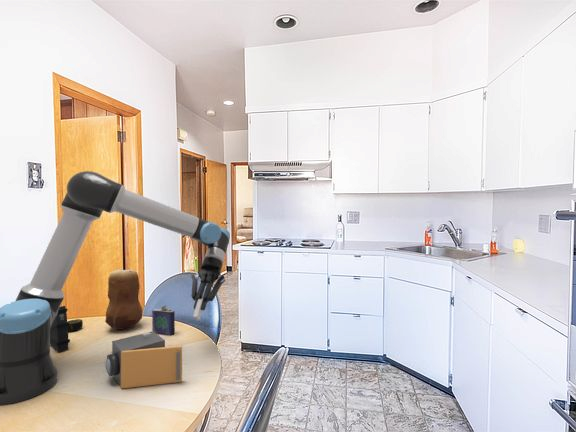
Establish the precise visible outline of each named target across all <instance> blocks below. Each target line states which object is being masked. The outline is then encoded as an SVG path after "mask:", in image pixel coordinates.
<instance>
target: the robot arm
mask: <svg viewBox="0 0 576 432" xmlns="http://www.w3.org/2000/svg"><path fill="white" fill-rule="evenodd" d="M60 208H61V210H62V211H63V213H62V215H61V217H60V219H59V221H58V224H57V225H56V228H55V229H54V232H53V234H52V235H51V238H50V240H49V242H48V244H47V247H46V249H45V251H44V253H43V255H42V258H41V259H40V262H39V264H38V267H37V268H36V271H35V272H34V274H33V276H32V278H31V281H30V282H29V283H28V284H26V285H23V286H22V287H21V288H20V290H19V292H18V295H17V297H16V299H15V300H14V301H12V302H10V303H6V304H4V305H2V306H1V307H0V405H9V404H15V403H20V402H22V401H27V400H29V399H32V398H34V397H37V396H39V395H42V394H43V393H45V392H47V391H48V390H50V389H51V388H53V386H55V385H56V383H57V382H58V369H57V367H56V365H55V362H54V360H53V358H52V357H51V356H52V355H51V345H50V328H51V326H52V323H53V321H54V320H55V318H56V316H57V314H58V310H59V308H60V307H61V305H62V303H63V301H64V299H65V296H66V295H65V293H64V292H63V291H64V290H63V288H64V286H65V283H66V281H67V280H68V278H69V277H68V276H69V275H70V272H71V270H72V268H73V266H74V264H75V261H76V259H77V257H78V254H79V252H80V250H81V248H82V247H83V243H84V242H85V239H86V237H87V235H88V233H89V230H90V228H91V225H92V224H93V222H95V221H97V220H99V219H100V218H101V216H102V214H103V212H106V213H108V214H109V213H110V214H111V213H119V214H122V215H125V216H128V217H131V218H134V219H136V220H139V221H142V222H145V223H148V224H149V225H150V224H151V225H154V226H157V227H159V228H162V229H164V230H168V231H171V232H174V233H176V234H180V235H183V236H185V237H189V238H190V239H193V240H195V241H197V242H199V243H200V244H202V245H204V246H206V248H207V249H206V252H205V255H204V257H203V260H202V264H201V267H200V270H199V271H198V273H197V274H192V275H191V279H192V283H191V285H192V286H191V295H190V296H191V298H192V300H193V301H194V304H193V310H194V312H193V315H192V317H193V318H194V320H195V321H200V320H201V316H202V313H203V311H206V308H207V304H208V302H213V301H214V299H215V298H216V296H217V294H218V292H219V291H220V288H221V286H222V284H223V283H225V281H226V277H225V275H222V274H221V271H222V268H223V264H224V260H225V256H226V253H227V250H228V247H229V244H230V239H231V234H230V231H229V230H228V229H226V228H222V227H220V226H219V224H217V223H215V222H213V221H207V220H205V219H202V218H199V217H197V216H195V215H192V214H190V213H187V212H185V211H182V210H179V209H176V208H174V207H173V206H172V207H171V206H169V205H166V204H164V203H162V202H158V201H156V200H155V199H154V200H153V199H151V198H149V197H146V196H143V195H141V194H138V193H136V192H133V191H130V190H128V189H126V188H125V186H124V184H121V183H119V182H116V181H114V180H112V179H110V178H108V177H105V176H104V175H102V174H100V173H98V172H96V171H92V170H91V171H89V170H86V171H84V170H83V171H80V172H77V173H76V174H74V175H73V176H72V177H71V178H69V180H68V182H67V184H66V193H65V196H64V197H63V200H62V202H61V205H60ZM199 279H200V283H199V282H198V281H199ZM198 283H199V286H198ZM214 283H215V284H214Z"/></svg>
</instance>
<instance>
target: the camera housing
mask: <svg viewBox="0 0 576 432" xmlns="http://www.w3.org/2000/svg"><path fill="white" fill-rule="evenodd" d="M111 343H112V344H111V353H110V354H107V355H106V359H105V362H104V365H105V366H104V367H105V371H106V374H107V375H108V377H110V378H111V377H113V378H114V379H115V381H116V382H117V383H118V384H119V386H120V387H121V352H122V351H127V350H139V349H150V348H161V347H166V340H165V338H163V337H162V336H160V335H159V334H156V333H155V332H153V331H152V330H151V331H147V332H142V333H140V334H136V335H132V336H127V337H123V338H119V339H116V340H112V341H111Z"/></svg>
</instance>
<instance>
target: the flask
mask: <svg viewBox="0 0 576 432" xmlns="http://www.w3.org/2000/svg"><path fill="white" fill-rule="evenodd" d="M166 306H167V304H163V305H161V307H160V308H154V309H152V310H151V311H152V313H151V314H152V320H151V322H152V326H151V329H152V330H151V331H153V332H155V333H156V334H157V335H159V334H162V335H163V336H169V337H170V336H171V337H172V335H173V336H174V334H175V335H176V333H175V332H176V330H175V329H176V327H175V326H176V323H175V321H176V320H175V310H174V309H171V308H168V307H166ZM162 335H161V336H162Z"/></svg>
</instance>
